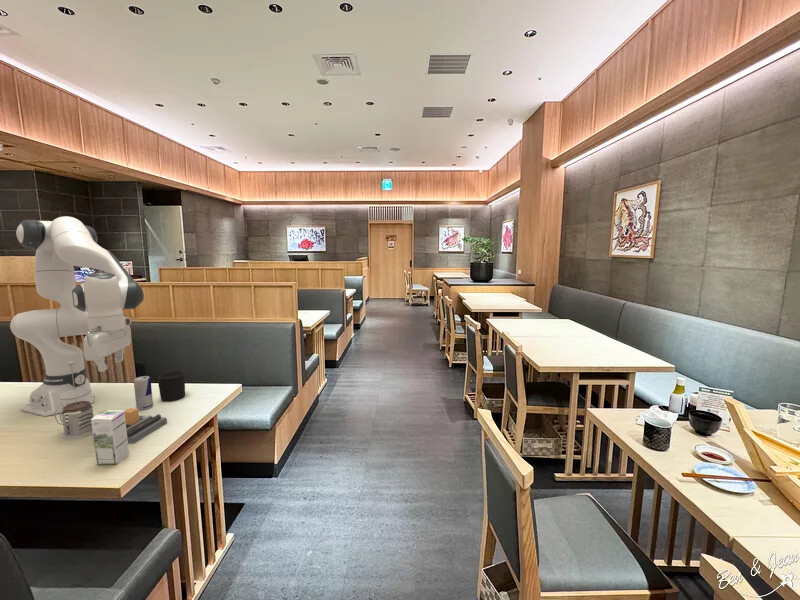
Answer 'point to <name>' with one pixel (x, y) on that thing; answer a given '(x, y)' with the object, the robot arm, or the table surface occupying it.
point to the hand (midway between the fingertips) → (111, 366)
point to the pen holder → (172, 386)
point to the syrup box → (110, 436)
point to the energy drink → (143, 392)
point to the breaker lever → (131, 416)
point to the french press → (74, 427)
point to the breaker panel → (146, 430)
